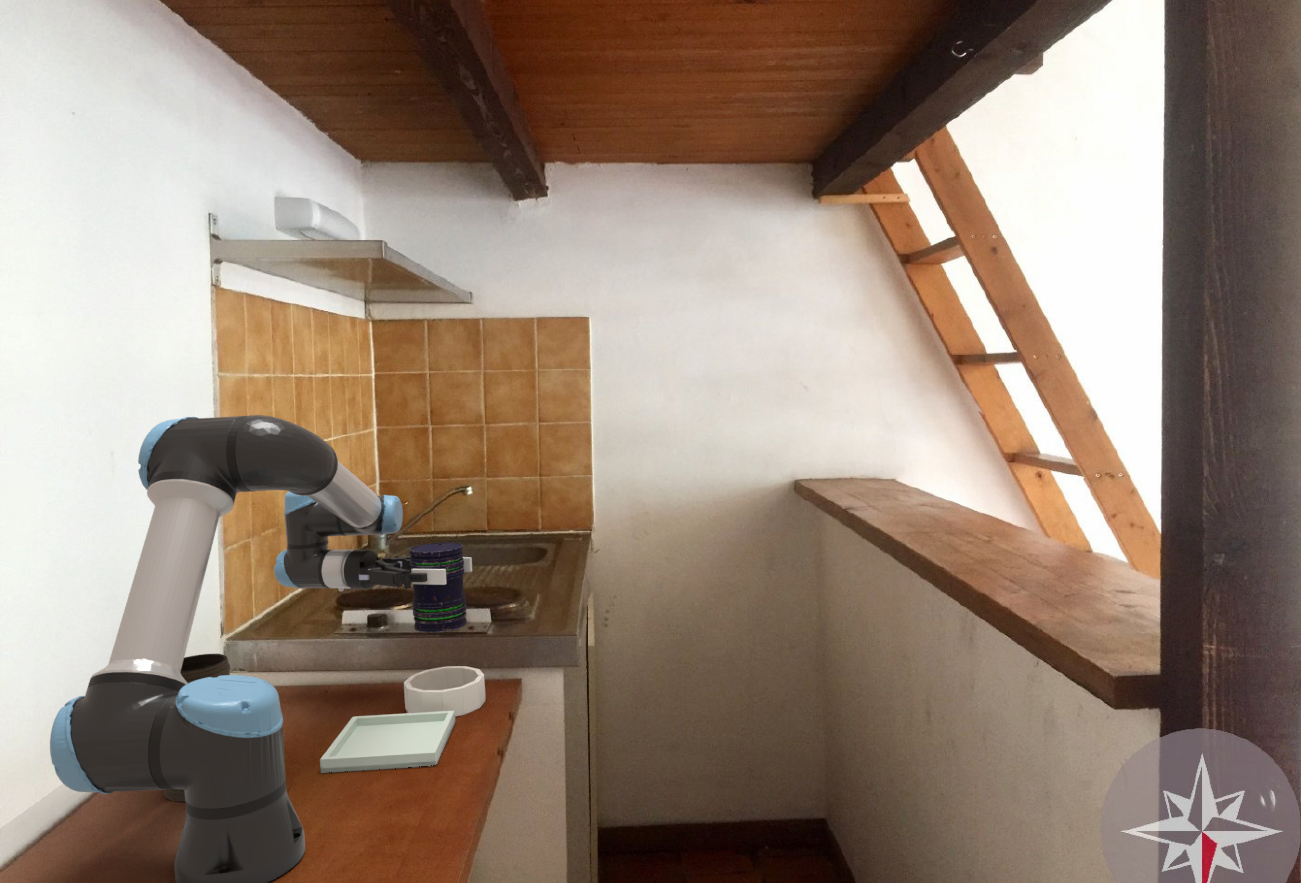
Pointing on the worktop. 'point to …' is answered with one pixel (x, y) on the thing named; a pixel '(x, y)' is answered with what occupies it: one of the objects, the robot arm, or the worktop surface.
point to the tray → (389, 742)
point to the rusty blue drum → (439, 588)
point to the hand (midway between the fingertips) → (458, 570)
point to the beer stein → (191, 672)
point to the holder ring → (445, 690)
